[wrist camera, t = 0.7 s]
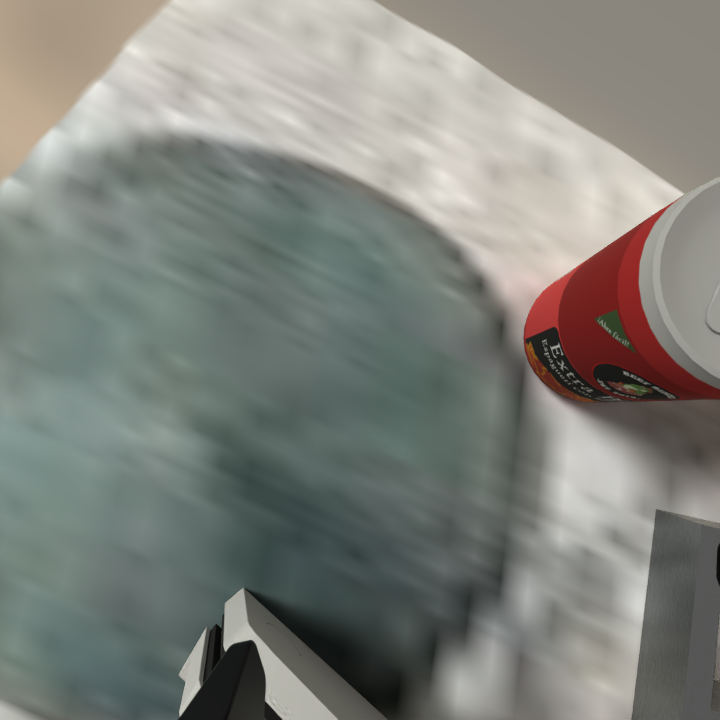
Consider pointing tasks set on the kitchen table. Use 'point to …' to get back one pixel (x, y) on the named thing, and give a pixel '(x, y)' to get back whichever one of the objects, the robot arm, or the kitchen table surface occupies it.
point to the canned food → (638, 312)
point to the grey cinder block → (680, 623)
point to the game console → (276, 667)
